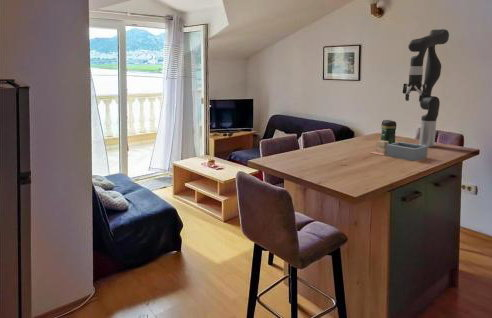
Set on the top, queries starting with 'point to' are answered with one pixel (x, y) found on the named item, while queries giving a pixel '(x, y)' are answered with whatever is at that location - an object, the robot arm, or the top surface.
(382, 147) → the maple block
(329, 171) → the top surface
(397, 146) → the box
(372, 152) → the terracotta mat
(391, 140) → the coffee jar
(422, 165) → the top surface
